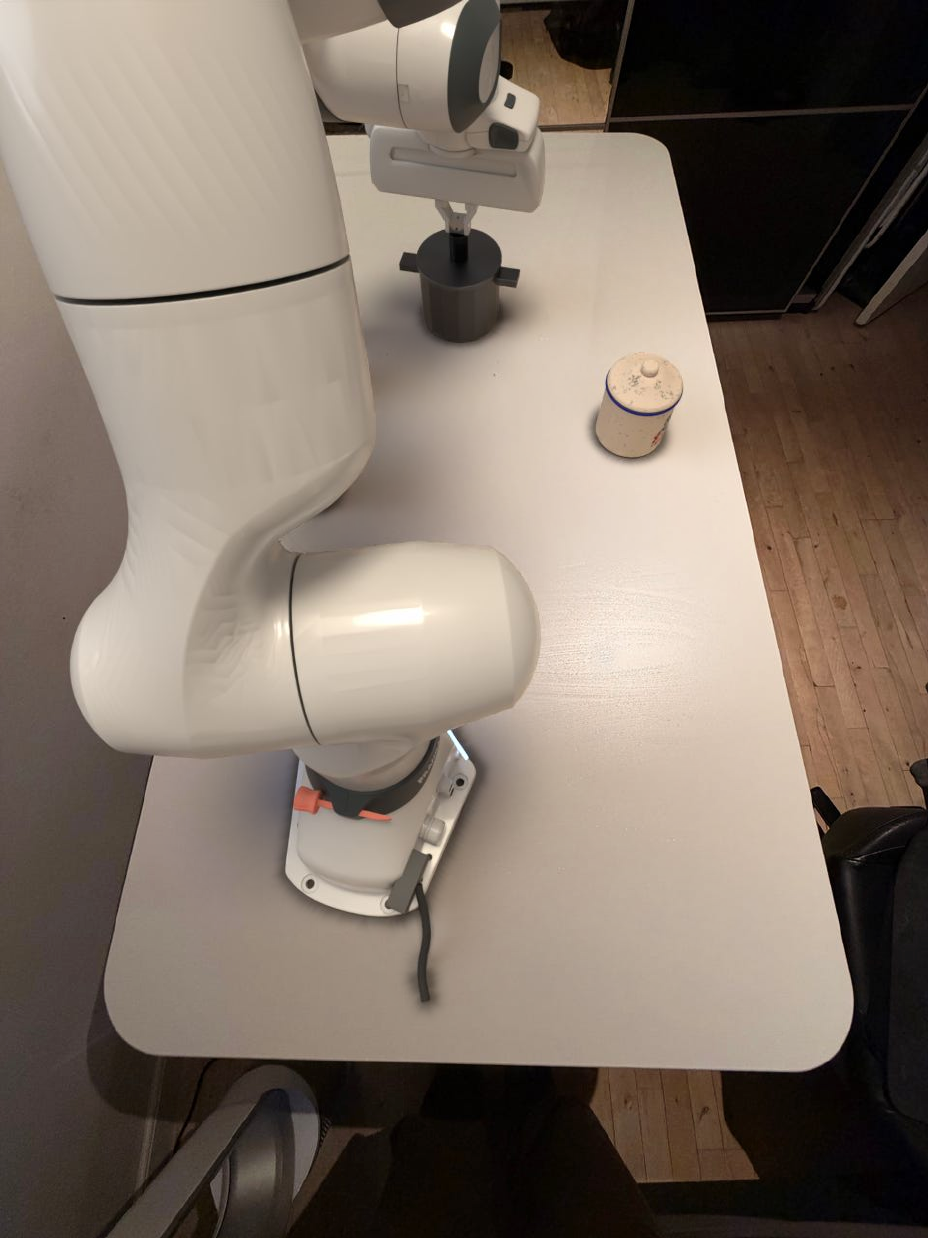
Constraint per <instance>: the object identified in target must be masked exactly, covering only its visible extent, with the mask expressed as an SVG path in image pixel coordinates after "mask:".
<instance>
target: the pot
mask: <svg viewBox="0 0 928 1238" xmlns="http://www.w3.org/2000/svg"><path fill="white" fill-rule="evenodd" d="M416 256H417V253H413V252H408V251H403V252H402V255H401V258H400V260H399V263H398V267H399V271H402V272H407V273H408V272H409V273H414V274H418V275H419V284H420V295H421V306H422V314H423V321H424V324H425V326H426V328H427V329H428V331H429V332H430V333H431V334H433V336H435V337H437V338H438V339H440V340H443V341H445V342H450V343H456V344H457V343H458V344H463V343H464V344H465V343H470V342H475V341H477V340H480V339H481V338H484V337H486V335H488V334H489V333H490V332H491V331H492V330H493V328H494V327H495V325H496V324H497V321H498V316H499V307H500V306H499V304H500V303H499V301H500V287H505V288H506V287H507V288H512V289H517V288H518V284H519V280H520V277H521V269H520V268H514V267H507V266H501V267H500V270H499V272H498V273H497V275H496V276H495V277H494V278H493V279H492V280H491V281H490V282H488V283H487V284H485V285H483V286H481V287H479V288H476V289H473V290H468V291H449V290H444V289H441V288H438V287H435V286H433V285H432V284H430V283H429V282H427V281H426V280H425V279H424V278H423V277H422V276H421V274H420V272H419V270H418V268H417V261H416Z"/></svg>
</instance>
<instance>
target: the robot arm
mask: <svg viewBox="0 0 928 1238" xmlns="http://www.w3.org/2000/svg"><path fill="white" fill-rule="evenodd" d="M502 41H503V16H502V14H501V0H0V159H1V162H2V166H3V168H4V172H5V175H6V178H7V181H8V184H9V186H10V189H11V191H12V195H13V198H14V200H15V203H16V206H17V209H18V211H19V214H20V217H21V219H22V223H23V226H24V228H25V232H26V234H27V236H28V238H29V241H30V244H31V246H32V249H33V251H34V253H35V256H36V260H37V262H38V263H39V266H40V268H41V271H42V273H43V276H44V279H45V280H46V284H47V286H48V288H49V291H50V292H51V294H52V298H53V300H54V302H55V304H56V307H57V309H58V312H59V314H60V317H61V319H62V321H63V323H64V326H65V328H66V331H67V333H68V335H69V337H70V340H71V342H72V344H73V347H74V349H75V352H76V354H77V356H78V359H79V361H80V362H79V363H80V364H81V366H82V370H83V371H84V375H85V377H86V379H87V382H88V384H89V387H90V389H91V392H92V394H93V397H94V400H95V403H96V405H97V409H98V411H99V413H100V416H101V419H102V421H103V425H104V427H105V429H106V433H107V435H108V438H109V442H110V445H111V447H112V450H113V453H114V456H115V460H116V462H117V465H118V468H119V471H120V474H121V477H122V481H123V487H124V491H125V494H126V495H125V496H126V497H125V498H126V504H127V513H128V515H127V516H128V517H127V518H128V519H127V521H128V525H127V530H128V531H127V538H126V546H125V550H124V554H123V558H122V560H121V562H120V564H119V567H118V570H117V572H116V574H115V575H114V577H113V578H112V580H110V582H109V584H108V585H107V586H106V587H105V588H104V589H103V590H102V591H101V592H100V593H99V594H98V596H97V597H95V599H94V600H93V601H92V602H91V604H90V605H89V607H88V608H87V609H86V611H85V612H84V614H83V616H82V618H81V620H80V621H79V624H78V626H77V628H76V630H75V634H74V637H73V641H72V645H71V648H70V654H69V658H70V659H69V675H70V676H69V677H70V683H71V689H72V692H73V696H74V699H75V701H76V703H77V707H78V708H79V710H80V712H81V715H82V716H83V718H84V720H85V721H86V722H87V724H88V725H89V727H91V729H92V730H93V731H94V732H95V734H96V735H97V736H98V737H99V738H100V739H101V740H102V741H103V742H105V743H106V745H108V746H109V747H110V748H112V749H113V750H116V751H117V752H119V753H120V752H121V753H125V754H132V755H142V756H143V755H145V756H155V757H163V758H164V757H165V758H179V759H180V758H181V759H197V760H198V759H199V760H214V759H220V758H221V759H222V758H229V757H238V756H244V755H254V754H261V753H270V752H277V751H278V752H279V751H285V750H292V751H293V753H294V754H295V755H296V756H297V758H298V760H299V761H298V766H297V774H296V776H297V777H296V780H295V790H294V797H293V806H292V812H291V820H290V826H289V827H290V828H289V835H288V842H287V851H286V859H285V868H284V872H285V875H286V877H287V879H288V880H289V882H291V884H293V886H295V887H296V889H297V890H299V892H301V893H302V894H304V895H305V896H307V897H309V898H311V899H312V900H314V901H316V902H318V903H320V904H322V905H324V906H328V907H330V908H332V909H336V910H339V911H343V912H345V913H351V914H355V915H358V916H365V917H366V916H367V917H375V918H376V917H378V918H380V917H381V918H386V917H396V916H400V915H406V914H408V913H411V912H412V911H415V910H417V909H419V914H420V920H421V929H422V930H421V933H422V936H421V945H420V950H419V955H418V961H417V983H418V990H419V991H418V992H419V996H420V1000H421V1003H426V1002H429V1001H430V1000H431V999H430V993H429V988H428V981H427V964H428V963H427V962H428V957H429V951H430V946H431V938H432V930H431V929H432V928H431V918H430V913H429V908H428V903H427V900H426V894H427V892H428V889H429V887H430V885H431V882H432V880H433V878H434V875H435V873H436V871H437V869H438V866H439V864H440V862H441V860H442V857H443V855H444V852H445V849H446V847H447V846H448V843H449V841H450V839H451V837H452V835H453V832H454V829H455V827H456V825H457V823H458V820H459V817H460V816H461V813H462V812H463V808H464V806H465V803H466V800H467V798H468V795H469V793H470V792H471V791H470V790H471V789H472V787H473V784H474V782H475V779H476V776H477V769H476V766H475V765H474V762H473V761H472V760H471V759H470V758H469V756H468V754H467V753H466V751H465V749H464V748H463V746H462V745H461V743H460V742H459V741H458V740H457V738H456V736H455V735H454V732H453V730H454V729H457V728H460V727H463V726H464V725H467V724H471V723H473V722H477V721H480V720H483V719H485V718H488V717H490V716H493V715H497V714H500V713H502V712H505V711H508V710H511V709H513V708H514V707H515V706H516V705H517V703H518V702H519V701H520V699H521V698H522V697H523V695H524V694H525V693H526V691H527V689H528V687H529V686H530V684H531V681H532V679H533V677H534V675H535V672H536V670H537V667H538V664H539V663H538V662H539V659H540V653H541V648H542V647H541V646H542V624H541V618H540V612H539V608H538V604H537V602H536V599H535V596H534V593H533V591H532V590H531V588H530V586H529V584H528V582H527V580H526V579H525V578H524V576H523V574H522V573H521V571H520V570H519V569H518V568H517V567H516V566H515V564H514V562H512V561H511V560H510V559H509V558H508V557H506V556H505V555H504V553H502V552H500V551H499V550H498V549H497V548H496V547H493V546H485V545H484V546H483V545H475V544H473V545H472V544H463V543H456V542H455V543H454V542H437V541H436V542H435V541H419V540H411V541H403V542H393V543H387V544H376V545H369V546H368V545H367V546H359V547H351V548H342V549H341V548H340V549H332V550H323V551H316V552H314V551H313V552H303V551H290V550H288V549H286V548H285V547H284V546H283V545H282V543H281V539H282V538H284V537H285V536H286V535H287V534H289V533H291V532H292V531H293V530H295V529H296V528H298V527H300V526H302V525H303V524H304V523H306V522H307V521H309V520H311V519H313V518H314V517H317V515H319V514H321V513H322V512H323V511H325V510H326V509H327V508H329V507H331V506H332V505H334V504H335V502H336V501H337V500H338V499H339V498H341V496H342V495H344V493H345V492H346V491H347V490H348V489H349V488H350V487H351V486H352V485H353V484H354V483H355V481H356V480H357V479H358V478H359V477H360V475H361V474H362V472H363V471H364V470H365V467H366V465H367V464H368V462H369V459H370V457H371V455H372V452H373V449H374V446H375V441H376V437H377V426H378V418H377V411H376V406H375V405H376V404H375V399H374V394H373V393H374V392H373V386H372V380H371V373H370V368H369V362H368V356H367V349H366V343H365V337H364V331H363V324H362V318H361V314H360V313H361V312H360V307H359V301H358V294H357V289H356V282H355V276H354V275H355V274H354V268H353V264H352V262H353V261H352V256H351V254H350V253H351V251H350V245H349V239H348V234H347V229H346V224H345V218H344V211H343V207H342V199H341V196H340V192H339V187H338V183H337V177H336V173H335V169H334V164H333V159H332V155H331V150H330V146H329V142H328V139H327V134H326V130H325V127H324V123H345V124H346V123H360V124H364V129H365V133H366V135H367V137H368V138H369V172H370V181H371V184H372V185H373V186H374V187H375V188H376V190H377V191H378V192H380V193H387V194H394V195H400V196H408V197H415V198H421V199H430V200H434V208H435V209H436V211H437V213H439V215H440V217H441V218H442V220H443V221H444V229H445V232H446V233H452V234H460V235H466V236H469V233H470V230H471V228H472V220H473V219H474V217H475V216H476V214H477V212H478V208H479V207H486V208H494V209H500V210H507V211H513V212H522V213H527V214H532V213H534V212H535V211H536V210H537V209H538V208H539V207H540V205H541V202H542V200H543V196H544V193H545V192H544V190H545V183H546V147H545V140H544V136H543V133H542V131H541V129H540V128H539V126H538V124H539V120H540V113H541V100H540V99H539V97H538V96H537V95H536V94H534V93H533V92H531V91H529V90H527V89H526V88H523V87H521V86H519V85H518V84H516V83H513V82H512V81H510V80H508V79H507V78H505V77H503V76H501V75H500V73H501V66H502V65H501V64H502V45H503V44H502ZM450 203H458V204H464V211H466V212H465V213H464V212H457V211H454V210H453V208H452V206H451V204H450ZM331 504H332V505H331ZM330 505H331V506H330ZM328 506H329V507H328ZM458 780H462V781H463V784H462V785H461V786H460V785H458V784H457V781H458ZM430 855H431V856H430ZM311 880H312V881H313V882H314V885H313V886H312V887H311V888H310V887H309V886H308V883H309V881H311Z"/></svg>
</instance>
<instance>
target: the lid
mask: <svg viewBox="0 0 928 1238" xmlns="http://www.w3.org/2000/svg"><path fill="white" fill-rule="evenodd" d="M416 254H417V256H416V261H417V268H418V270H419V272H420V274H421V276H422V277H423V278H424V279H425V280H426V281H427V282H429V283H430V284H432V285H433V286H435V287H438V288H441V289H444V290H449V291H468V290H473V289H476V288H479V287H481V286H483V285H485V284H487V283H488V282H490V281H491V280H492V279H493V278H494V277H495V276H496V275H497V273H498V272H499V270H500V267H502V263H503V262H502V261H503V255H502V250H501V247H500V245H499V244H498V242H497V241H496V240H495V239H494V238H493V237H492V236H490V235H489V234H488V233H486V232H484V231H482V230H479V229H477V228H472V227H471V230H470V233H469V236H466V235H460V234H452V233H446V232H445V228H444V229H441V230H438V231H436V232H433V233H432V234H431V235H429V236H428V237H426V238H424V240H423V241H422V242H421V244H420V245H419V247H418V249H417V251H416Z"/></svg>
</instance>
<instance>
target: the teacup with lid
mask: <svg viewBox="0 0 928 1238" xmlns="http://www.w3.org/2000/svg"><path fill="white" fill-rule="evenodd" d="M604 385H605V389H604V393H603V395H602V400H601V403H600V407H599V411H598V415H597V418H596V422H595V433H596V436H597V439H598V441H599V442H600V444H601V445H602V446H603V447H604V448H605V449H606V450H608V451H609V452H610V453H612V454H614V455H617V456H620V457H624V458H639V457H643V456H647V455H648V454H650V453H651V452H653V451H654V450H656V449H657V447H658V446H659V445H660V443H661V441H662V439H663V437H664V434H665V432H666V429H667V427H668V424H669V422H670V420H671V418H672V416H673V413H674V411H675V408H676V406H677V405H678V404H679V403H680V401H681V399H682V397H683V394H684V381H683V377H682V374H681V373H680V370H678V368H677V367H676V366H675V364H673V363H672V362H671V361H670V360H668V359H666V358H664V357H663V356H660V355H657V354H654V353H650V352H643V351H639V352H636V353H631V354H628V355H626V356H623V357H622V358H620V359H618V360H617V361H616V362H615V363H614V364H613V365H612V366H611V367H610V369H608V372H607V374H606V377H605V384H604Z"/></svg>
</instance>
